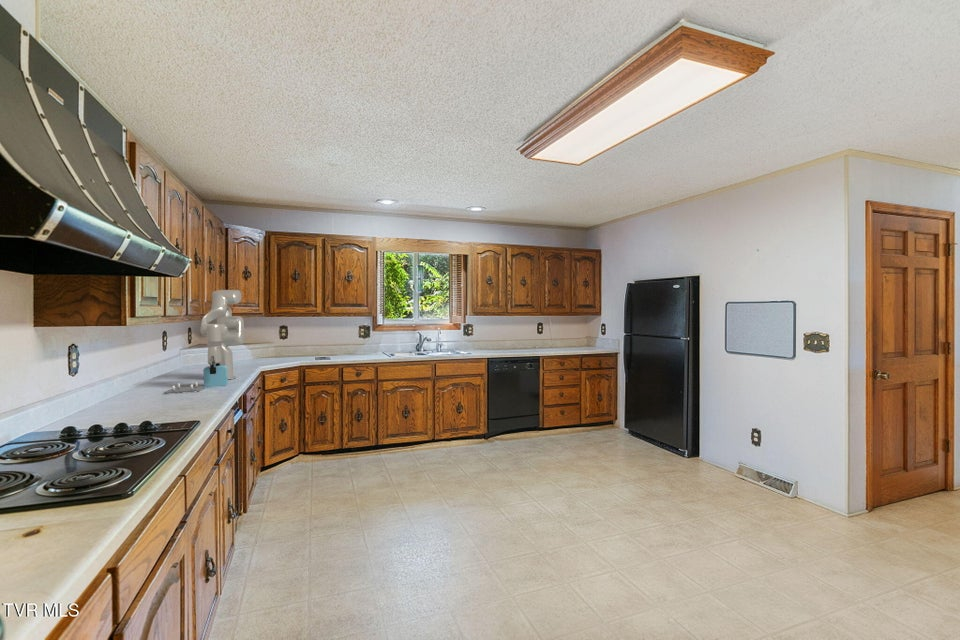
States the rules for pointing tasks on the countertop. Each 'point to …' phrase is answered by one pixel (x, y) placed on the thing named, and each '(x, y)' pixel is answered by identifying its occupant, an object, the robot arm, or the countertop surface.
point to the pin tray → (185, 388)
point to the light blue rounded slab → (216, 376)
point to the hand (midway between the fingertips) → (215, 373)
